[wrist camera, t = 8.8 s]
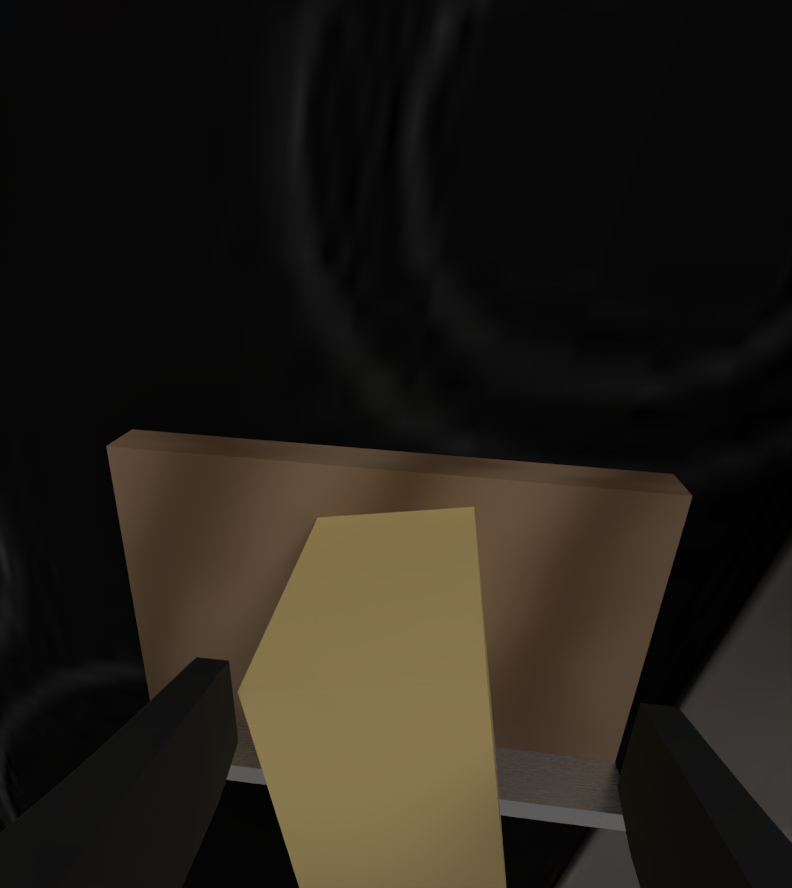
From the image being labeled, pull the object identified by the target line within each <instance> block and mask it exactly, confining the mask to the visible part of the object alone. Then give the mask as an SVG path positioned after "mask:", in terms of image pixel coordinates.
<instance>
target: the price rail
mask: <svg viewBox="0 0 792 888" xmlns="http://www.w3.org/2000/svg"><path fill="white" fill-rule="evenodd" d="M236 725H237V734H238V744H237V747H236V751H235V754H234V757H233V760H232V763H231V767H230V770H229V773H228V776H227V779H226V780H233V781H240V782H248V783H256V784H264V785H267V783H266V780H265V777H264V774H263V771H262V768H261V764H260V761H259V758H258V755H257V752H256V749H255V745H254V742H253V739H252V736H251V733H250V729H249V726H248V723H247V720H246V717H239V716H236ZM495 754H496V766H497V778H498V791H499V803H500V815H503V816H511V817H519V818H527V819H534V820H542V821H550V822H558V823H565V824H573V825H581V826H589V827H596V828H604V829H612V830H619V831H626V829H625V824H624V819H623V813H622V808H621V803H620V797H619V792H618V787H617V784H618V781H619V773H618V770H617V767H616V764H615V762H613V761H604V760H596V759H588V758H579V757H571V756H563V755H555V754H546V753H538V752H530V751H521V750H513V749H505V748H496V747H495Z"/></svg>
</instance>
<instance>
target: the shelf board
mask: <svg viewBox="0 0 792 888" xmlns="http://www.w3.org/2000/svg"><path fill="white" fill-rule="evenodd" d="M107 452H108V458H109V464H110V470H111V476H112V481H113V487H114V493H115V499H116V505H117V510H118V516H119V522H120V528H121V534H122V540H123V545H124V551H125V557H126V563H127V569H128V574H129V580H130V586H131V592H132V598H133V603H134V609H135V615H136V621H137V627H138V633H139V638H140V644H141V650H142V656H143V662H144V667H145V673H146V679H147V685H148V691H149V697H150V701H151V700H152V699H153V698H154V697H155V696H156V695H157V694H158V693H159V692H160V691H161V690H162V689H163V688H164V687H165V686H166V685H167V684H168V683H169V682H170V681H171V680H173V679H174V678H175V677H176V676H177V675H178V674H179V673H180V672H181V671H182V670H183V669H184V668H185V667H186V666H187V665H188V664H189V663H190V662H191V661H193V660H194V659H195V658H196V657H200V658H209V659H219V660H229V664H230V673H231V681H232V690H233V699H234V708H235V716H239V717H245V714H244V710H243V707H242V704H241V701H240V698H239V695H238V690H239V688H240V685H241V683H242V681H243V679H244V677H245V675H246V672H247V670H248V668H249V666H250V664H251V662H252V659H253V657H254V655H255V653H256V651H257V648H258V646H259V644H260V642H261V640H262V638H263V635H264V633H265V631H266V629H267V627H268V625H269V622H270V620H271V618H272V616H273V614H274V611H275V609H276V607H277V605H278V603H279V601H280V598H281V596H282V594H283V592H284V590H285V588H286V585H287V583H288V581H289V579H290V577H291V574H292V572H293V570H294V568H295V566H296V564H297V561H298V559H299V557H300V555H301V553H302V551H303V548H304V546H305V544H306V542H307V540H308V537H309V535H310V533H311V531H312V529H313V527H314V524H315V522H316V520H317V518H319V517H333V516H348V515H363V514H377V513H392V512H406V511H421V510H436V509H450V508H465V507H474V512H475V524H476V535H477V546H478V557H479V569H480V580H481V591H482V602H483V614H484V625H485V636H486V647H487V659H488V670H489V681H490V693H491V704H492V717H493V729H494V741H495V747H496V748H505V749H513V750H521V751H530V752H538V753H546V754H555V755H563V756H571V757H579V758H588V759H596V760H604V761H613V762H615V760H616V757H617V753H618V750H619V746H620V743H621V739H622V736H623V733H624V729H625V726H626V722H627V719H628V715H629V712H630V708H631V705H632V702H633V698H634V695H635V691H636V688H637V684H638V681H639V678H640V674H641V671H642V667H643V664H644V660H645V657H646V654H647V650H648V647H649V643H650V640H651V636H652V633H653V630H654V626H655V623H656V619H657V616H658V612H659V609H660V606H661V602H662V599H663V595H664V592H665V588H666V585H667V582H668V578H669V575H670V571H671V568H672V564H673V561H674V558H675V554H676V551H677V547H678V544H679V540H680V537H681V534H682V530H683V527H684V523H685V520H686V516H687V513H688V510H689V506H690V503H691V499H692V495H691V494H690V493H689V491H688V490H687V489H686V488H685V487H684V486H683V485H682V483H681V482H680V481H679V480H678V479H677V478H676V477H675V475H674V474H667V473H655V472H643V471H631V470H618V469H606V468H594V467H582V466H570V465H558V464H546V463H533V462H521V461H509V460H497V459H485V458H473V457H461V456H448V455H436V454H424V453H412V452H400V451H388V450H376V449H363V448H351V447H339V446H327V445H315V444H303V443H290V442H278V441H266V440H254V439H242V438H230V437H218V436H205V435H193V434H181V433H169V432H157V431H145V430H133V429H132V430H131V431H129V432H128V433H126V434H125V435H123V436H121V437H120V438H118V439H117V440H115V441H114V442H112V443H111V444H109V445H107Z"/></svg>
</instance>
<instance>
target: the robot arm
mask: <svg viewBox="0 0 792 888" xmlns="http://www.w3.org/2000/svg"><path fill="white" fill-rule="evenodd" d="M237 744H238V734H237V725H236V716H235V708H234V699H233V690H232V681H231V673H230V664H229V660H219V659H209V658H200V657H196V658H195V659H194V660H193V661H191V662H190V663H189V664H188V665H187V666H186V667H185V668H184V669H183V670H182V671H181V672H180V673H179V674H178V675H177V676H176V677H175V678H174V679H173V680H171V681H170V682H169V683H168V684H167V685H166V686H165V687H164V688H163V689H162V690H161V691H160V692H159V693H158V694H157V695H156V696H155V697H154V698H153V699H152V700H151V701H150V702H149V703H147V704H146V705H145V706H144V707H143V708H142V709H141V710H140V711H139V712H138V713H137V714H136V715H135V716H134V717H133V718H132V719H131V720H130V721H128V722H127V723H126V724H125V725H124V726H123V727H122V728H121V729H120V730H119V731H118V732H116V733H115V734H114V735H113V736H112V737H111V738H110V739H109V740H108V741H107V742H106V743H104V744H103V745H102V746H101V747H100V748H99V749H98V750H97V751H96V752H95V753H93V754H92V755H91V756H90V757H89V758H88V759H87V760H86V761H85V762H83V763H82V764H81V765H80V766H79V767H78V768H77V769H76V770H74V771H73V772H72V773H71V774H70V775H69V776H67V777H66V778H65V779H64V780H63V781H61V782H60V783H59V784H58V785H57V786H56V787H54V788H53V789H52V790H51V791H50V792H49V793H47V794H46V795H45V796H44V797H43V798H41V799H40V800H39V801H38V802H37V803H36V804H34V805H33V806H32V807H31V808H30V809H29V810H27V811H26V812H25V813H24V814H23V815H21V816H20V817H19V818H18V819H16V820H15V821H14V822H13V823H11V824H10V825H9V826H8V827H6V828H5V829H4V830H3V831H1V832H0V888H182V886H183V883H184V881H185V879H186V877H187V874H188V872H189V870H190V868H191V865H192V863H193V861H194V859H195V856H196V854H197V852H198V849H199V847H200V845H201V843H202V840H203V838H204V836H205V833H206V831H207V829H208V826H209V824H210V822H211V820H212V817H213V815H214V813H215V810H216V808H217V805H218V803H219V800H220V797H221V794H222V791H223V788H224V785H225V782H226V779H227V776H228V773H229V770H230V767H231V763H232V760H233V757H234V754H235V751H236V747H237ZM617 787H618V792H619V797H620V803H621V808H622V813H623V819H624V824H625V829H626V834H627V838H628V843H629V848H630V853H631V857H632V860H633V864H634V867H635V871H636V874H637V877H638V881H639V884H640V887H641V888H792V843H791V842H790V841H789V839H788V838H787V837H786V836H785V835H784V834H783V833H782V831H781V830H780V829H779V828H778V827H777V826H776V824H775V823H774V822H773V821H772V820H771V819H770V818H769V816H768V815H767V814H766V813H765V812H764V811H763V809H762V808H761V807H760V806H759V805H758V803H757V802H756V801H755V800H754V799H753V798H752V796H751V795H750V794H749V793H748V792H747V790H746V789H745V788H744V787H743V786H742V784H741V783H740V782H739V781H738V780H737V778H736V777H735V776H734V775H733V774H732V772H731V771H730V770H729V769H728V768H727V766H726V765H725V764H724V763H723V761H722V760H721V759H720V758H719V757H718V755H717V754H716V753H715V752H714V750H713V749H712V748H711V747H710V746H709V744H708V743H707V742H706V741H705V740H704V738H703V737H702V736H701V735H700V733H699V732H698V731H697V730H696V729H695V727H694V726H693V725H692V724H691V723H690V721H689V720H688V719H687V718H686V717H685V715H684V714H683V713H682V712H681V711H680V709H679V708H678V707H674V706H664V705H654V704H645V703H640V705H639V709H638V712H637V716H636V720H635V723H634V727H633V730H632V734H631V738H630V741H629V745H628V748H627V752H626V756H625V759H624V763H623V766H622V770H621V774H620V777H619V781H618V784H617Z"/></svg>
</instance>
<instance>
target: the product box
mask: <svg viewBox="0 0 792 888" xmlns="http://www.w3.org/2000/svg"><path fill="white" fill-rule="evenodd" d="M238 695H239V698H240V701H241V704H242V707H243V710H244V714H245V717H246V720H247V723H248V726H249V729H250V733H251V736H252V739H253V742H254V745H255V749H256V752H257V755H258V758H259V761H260V764H261V768H262V771H263V774H264V777H265V780H266V783H267V787H268V790H269V793H270V796H271V799H272V802H273V806H274V809H275V812H276V815H277V818H278V822H279V825H280V828H281V831H282V834H283V837H284V841H285V844H286V847H287V850H288V853H289V856H290V860H291V863H292V866H293V869H294V872H295V875H296V879H297V882H298V885H299V888H506V878H505V865H504V853H503V840H502V828H501V816H500V803H499V791H498V778H497V766H496V754H495V741H494V729H493V717H492V704H491V693H490V681H489V670H488V659H487V647H486V636H485V625H484V614H483V602H482V591H481V580H480V569H479V557H478V546H477V535H476V524H475V512H474V507H465V508H450V509H436V510H421V511H406V512H392V513H377V514H363V515H348V516H333V517H319V518H317V520H316V522H315V524H314V527H313V529H312V531H311V533H310V535H309V537H308V540H307V542H306V544H305V546H304V548H303V551H302V553H301V555H300V557H299V559H298V561H297V564H296V566H295V568H294V570H293V572H292V574H291V577H290V579H289V581H288V583H287V585H286V588H285V590H284V592H283V594H282V596H281V598H280V601H279V603H278V605H277V607H276V609H275V611H274V614H273V616H272V618H271V620H270V622H269V625H268V627H267V629H266V631H265V633H264V635H263V638H262V640H261V642H260V644H259V646H258V648H257V651H256V653H255V655H254V657H253V659H252V662H251V664H250V666H249V668H248V670H247V672H246V675H245V677H244V679H243V681H242V683H241V685H240V688H239V690H238Z"/></svg>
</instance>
